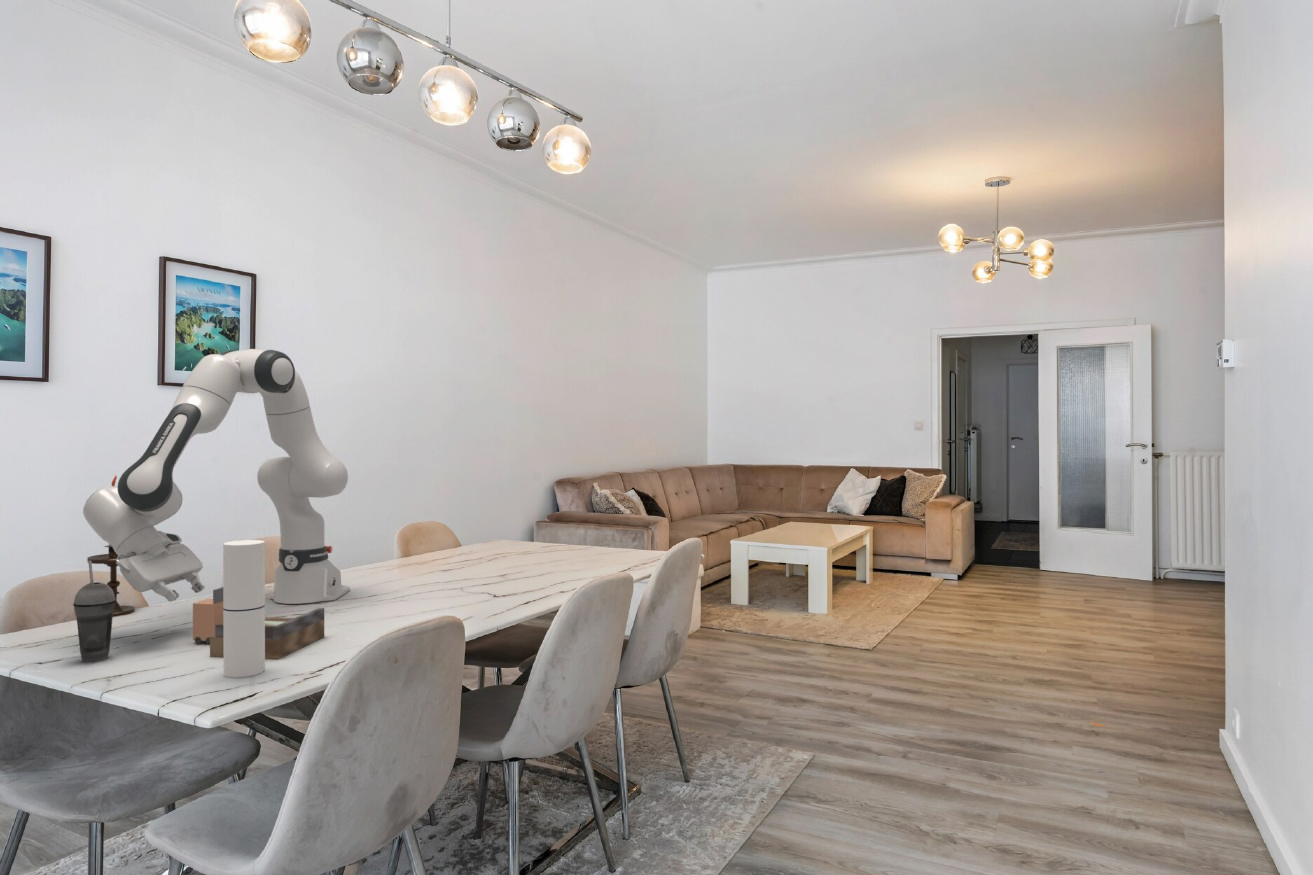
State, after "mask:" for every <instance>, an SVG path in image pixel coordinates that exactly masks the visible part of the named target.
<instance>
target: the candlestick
mask: <svg viewBox="0 0 1313 875" xmlns="http://www.w3.org/2000/svg"><path fill="white" fill-rule="evenodd" d="M117 478H118V477H117V474H115V476H114V477H113V479H112V482H111V487H116V486H115V485H116V483H117V482H116V480H117ZM103 547H104V548H108V553H103V554H96V555H91V556H88V557H87V559H86V560H87V563H88V561H91V563H92V564H93V565H94V564H96V565H102V564H103V565H105V566H106V567H109V570H110V572H109V573H110V574H109V576H110V577H109V578H110V580H109V581H107V583H106V585H108V586H109V587H110V588H111V589H112V590H113V592H114V594H115V599H116V602H115V608H114V612H113V617H121V615H122V616H126V615H130V614H133V613H135V612H136V611H135V610H136V609H135V608H136V607H135V606H134V605H120V604H119V602H118V600H117V599H118V598H117V597H118V596H117V595H119V594H120V591H118V587H120V584H121V581H119V580H117V579H118V576H117V575H118V574H117V573H118V572H117V571H118V569H117V567H119V566H118V565H117V563H116V562H117V561H116V559H117V557H118V555H117V554H116V552H115V551H114V549H113V547H112V546H111V544H109V543H108V545H105V546H104V545H103Z"/></svg>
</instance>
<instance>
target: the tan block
mask: <svg viewBox="0 0 1313 875" xmlns="http://www.w3.org/2000/svg"><path fill="white" fill-rule="evenodd" d="M223 609H224V608H223V586H222V587H218V588H214V589H213V591H212V598H206V599H203V600H200V601H197V602H194V603H193V602H192V641H194V643H195V644H196V645H200V644H203V643H204V642H205V643H206V644H207V645H208V646H210V637H211V636H214V635H215V625H217V624H223Z"/></svg>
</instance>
